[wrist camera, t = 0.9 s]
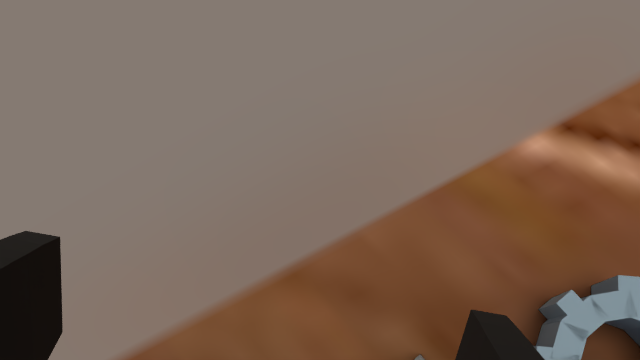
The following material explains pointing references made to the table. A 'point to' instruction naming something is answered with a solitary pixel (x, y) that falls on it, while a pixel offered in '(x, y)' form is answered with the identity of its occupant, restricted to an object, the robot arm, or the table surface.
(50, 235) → the robot arm
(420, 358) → the gear board
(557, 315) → the slate gear
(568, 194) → the table surface
